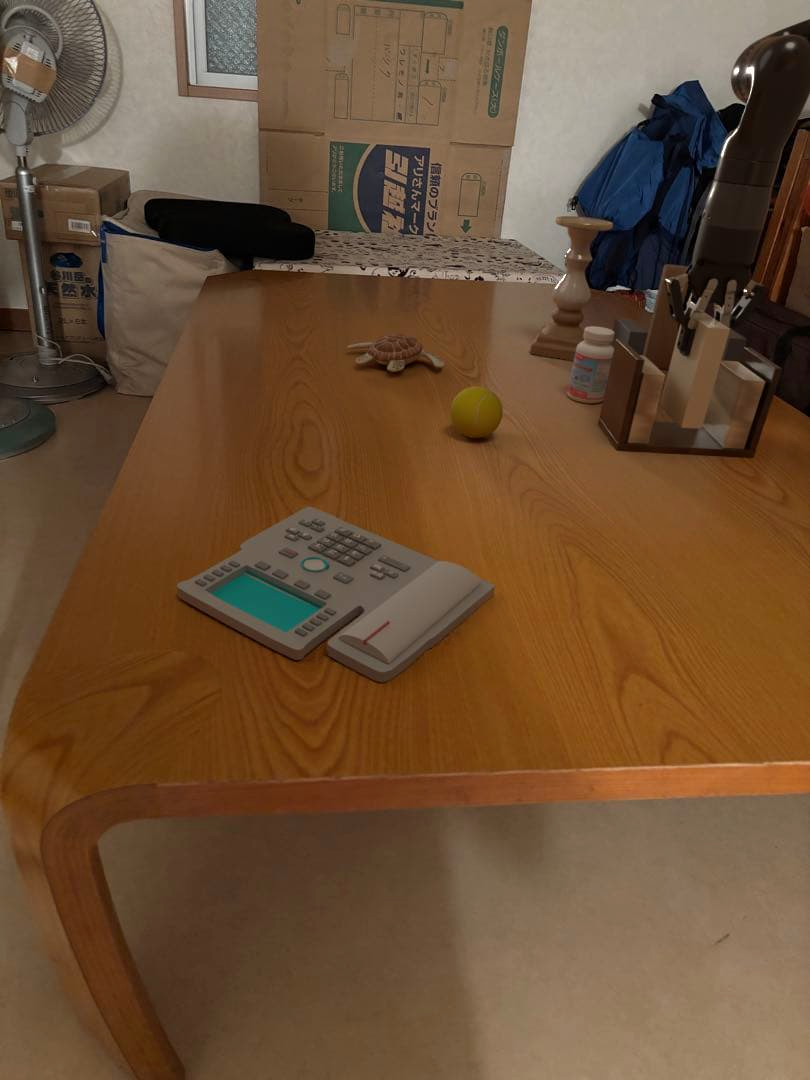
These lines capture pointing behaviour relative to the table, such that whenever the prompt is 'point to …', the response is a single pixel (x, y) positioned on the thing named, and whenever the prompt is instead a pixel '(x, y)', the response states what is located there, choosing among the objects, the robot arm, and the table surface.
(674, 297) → the robot arm
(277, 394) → the table surface
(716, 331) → the cream book
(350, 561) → the office telephone
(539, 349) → the candle holder
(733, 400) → the book rack
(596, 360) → the pill bottle
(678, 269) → the wooden block
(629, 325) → the grey books
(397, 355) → the decorative turtle
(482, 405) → the tennis ball
